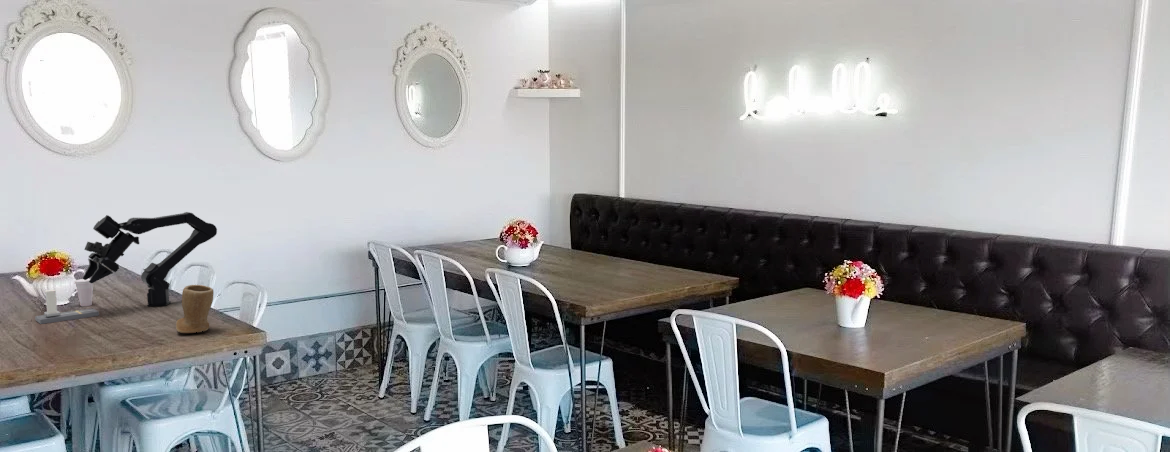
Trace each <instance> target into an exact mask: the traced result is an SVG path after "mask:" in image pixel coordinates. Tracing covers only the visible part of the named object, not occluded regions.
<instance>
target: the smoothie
mask: <svg viewBox="0 0 1170 452" xmlns="http://www.w3.org/2000/svg"><path fill="white" fill-rule="evenodd" d="M86 271H87V269H86V268H83V276H84V275H85V273H86ZM90 279H91V278H88V279H87V280H84V279H83V278H80V279H76V280H74V284H75V288H76V291H77V296H78V300H79V304H80V307H89V306H92V304H93V293H94V291H93V290H94V283H90V282H89V281H90Z"/></svg>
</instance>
